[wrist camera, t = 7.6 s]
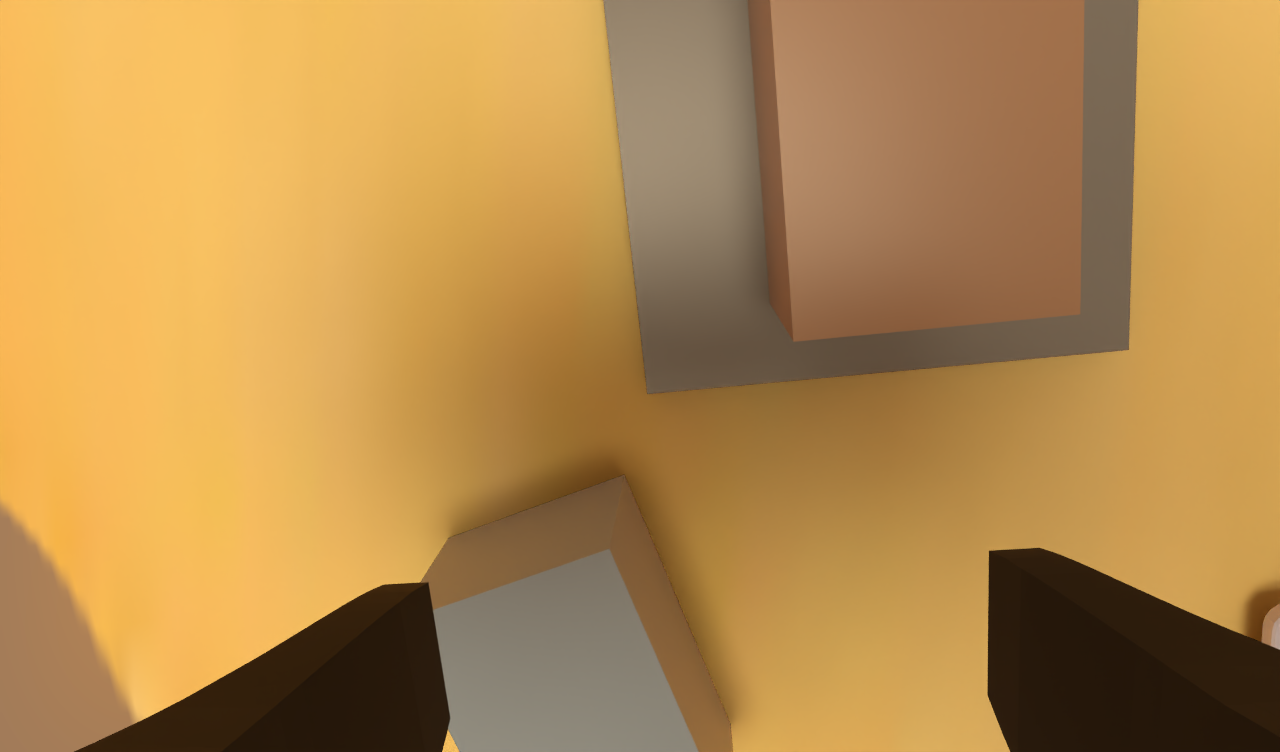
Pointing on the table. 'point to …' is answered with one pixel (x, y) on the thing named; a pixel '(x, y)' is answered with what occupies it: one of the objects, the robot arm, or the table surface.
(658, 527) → the table surface
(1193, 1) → the table surface
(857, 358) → the baseplate
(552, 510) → the grey brick
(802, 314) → the brown brick
